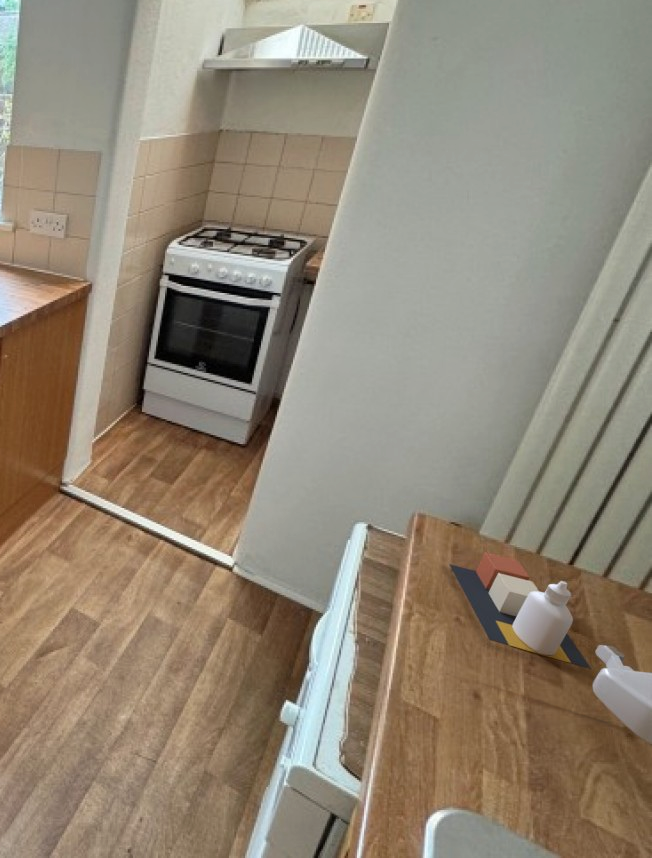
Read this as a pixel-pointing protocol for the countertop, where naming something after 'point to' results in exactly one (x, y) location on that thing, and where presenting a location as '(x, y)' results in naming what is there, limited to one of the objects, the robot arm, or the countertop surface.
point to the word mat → (505, 619)
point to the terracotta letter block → (498, 569)
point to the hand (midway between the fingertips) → (643, 653)
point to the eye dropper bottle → (544, 619)
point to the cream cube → (510, 593)
